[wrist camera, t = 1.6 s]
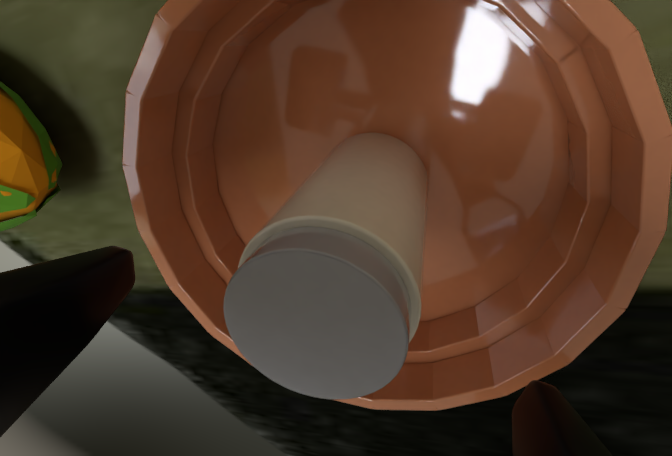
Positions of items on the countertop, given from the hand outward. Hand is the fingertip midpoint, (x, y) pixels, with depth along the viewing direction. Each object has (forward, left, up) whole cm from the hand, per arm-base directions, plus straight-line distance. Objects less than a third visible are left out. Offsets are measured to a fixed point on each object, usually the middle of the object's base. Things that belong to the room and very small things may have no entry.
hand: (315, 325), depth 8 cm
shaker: (0, 0, -8) cm, 8 cm away
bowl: (0, 0, -9) cm, 9 cm away
